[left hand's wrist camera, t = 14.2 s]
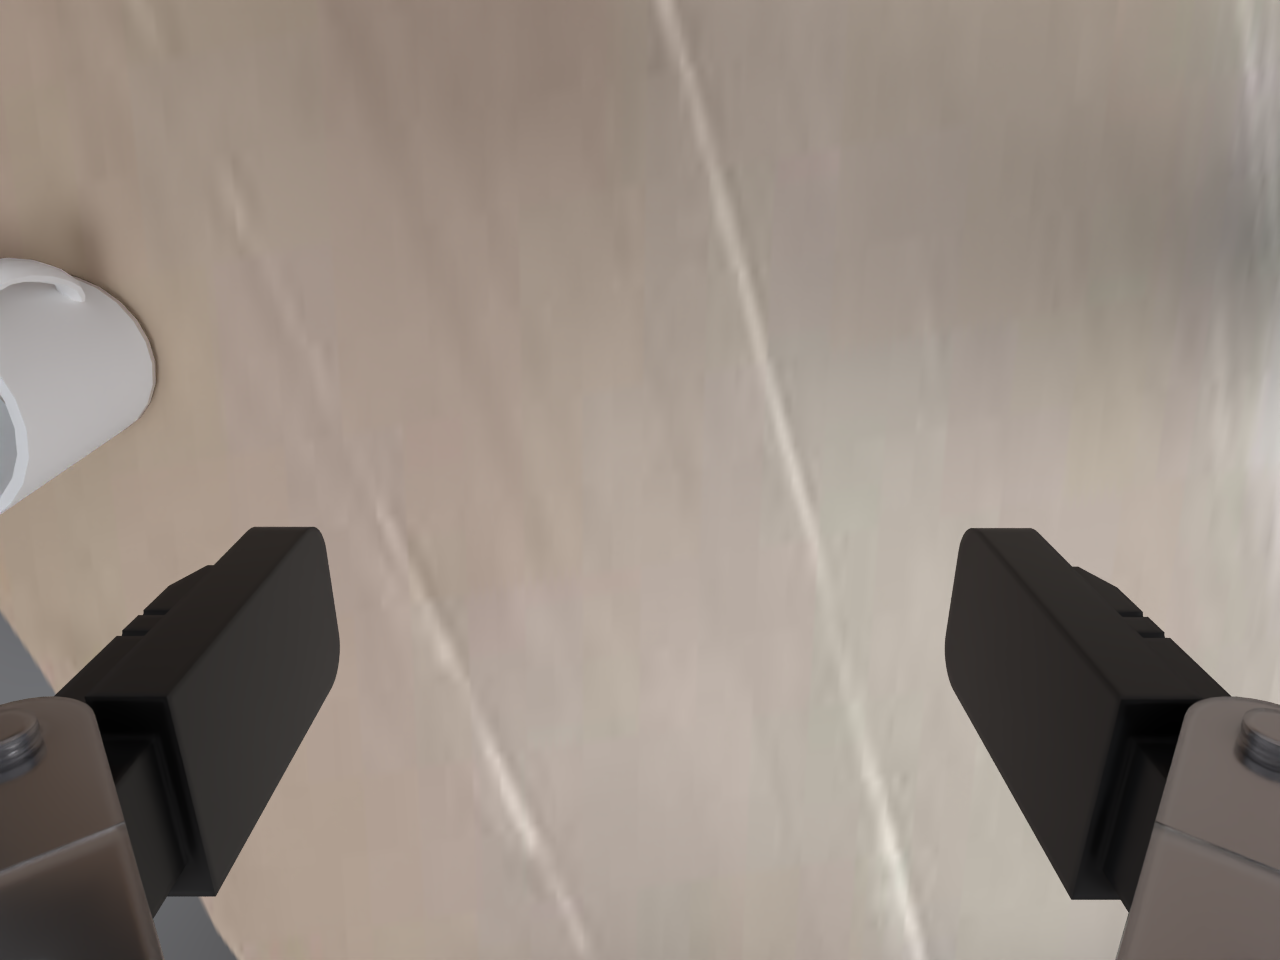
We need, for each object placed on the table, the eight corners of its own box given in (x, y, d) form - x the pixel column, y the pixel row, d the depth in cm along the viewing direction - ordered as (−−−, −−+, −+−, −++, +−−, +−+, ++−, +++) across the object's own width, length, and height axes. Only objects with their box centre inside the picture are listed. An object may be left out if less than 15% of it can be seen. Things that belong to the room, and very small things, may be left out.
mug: (129, 476, 44) (-13, 571, 34) (-47, 383, 42) (-248, 457, 33) (213, 292, 40) (81, 341, 31) (25, 183, 39) (-177, 199, 29)
